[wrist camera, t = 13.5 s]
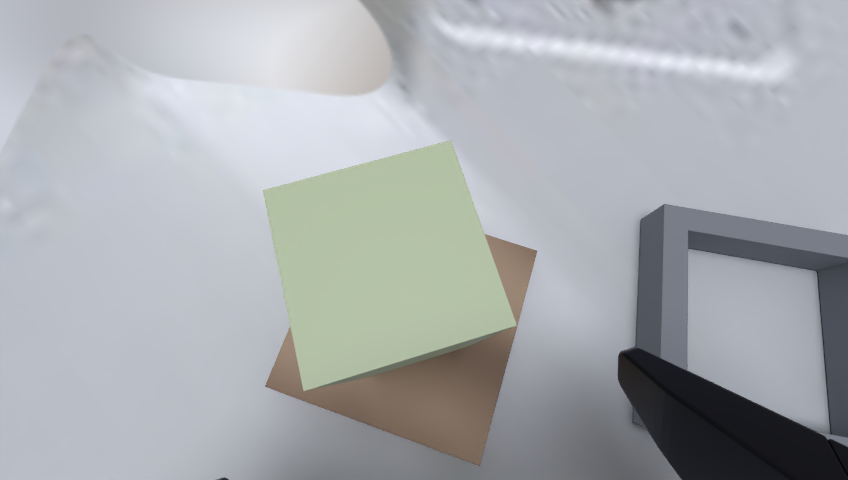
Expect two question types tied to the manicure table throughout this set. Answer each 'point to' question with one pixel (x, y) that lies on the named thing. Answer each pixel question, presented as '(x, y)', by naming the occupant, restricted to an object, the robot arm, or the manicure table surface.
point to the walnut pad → (428, 379)
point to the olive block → (384, 266)
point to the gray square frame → (748, 238)
